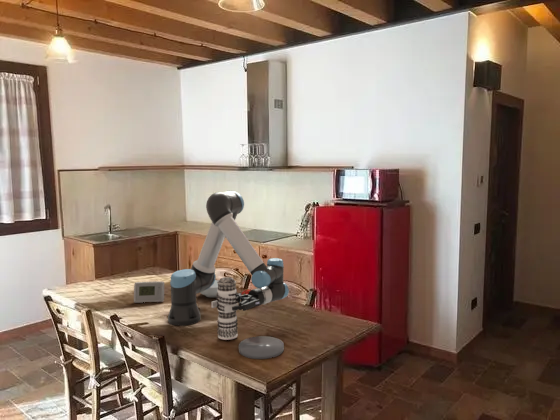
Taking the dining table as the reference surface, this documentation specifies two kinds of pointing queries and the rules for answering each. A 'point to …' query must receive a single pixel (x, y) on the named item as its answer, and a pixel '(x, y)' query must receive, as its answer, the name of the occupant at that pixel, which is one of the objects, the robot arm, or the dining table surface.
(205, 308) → the dining table surface
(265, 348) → the slate plate
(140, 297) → the digital clock
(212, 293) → the cereal bowl
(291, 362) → the dining table surface
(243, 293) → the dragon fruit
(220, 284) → the decorative candle
